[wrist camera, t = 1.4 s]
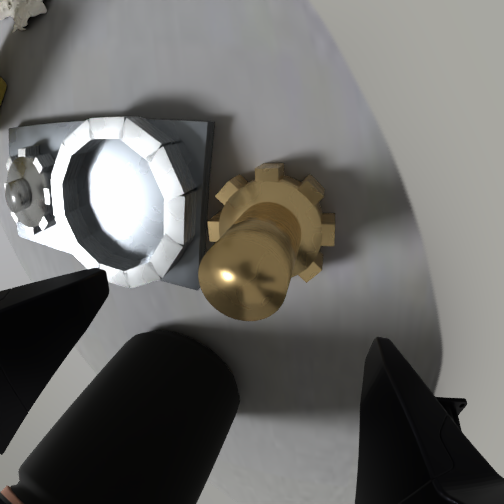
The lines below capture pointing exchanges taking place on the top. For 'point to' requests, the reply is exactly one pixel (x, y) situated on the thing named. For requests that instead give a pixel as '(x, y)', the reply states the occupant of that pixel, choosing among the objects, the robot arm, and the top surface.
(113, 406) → the coffee jar
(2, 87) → the flower pot
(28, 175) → the sun gear
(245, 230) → the planet gear
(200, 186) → the carrier
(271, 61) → the top surface
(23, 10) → the cream lumpy figure
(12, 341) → the robot arm
